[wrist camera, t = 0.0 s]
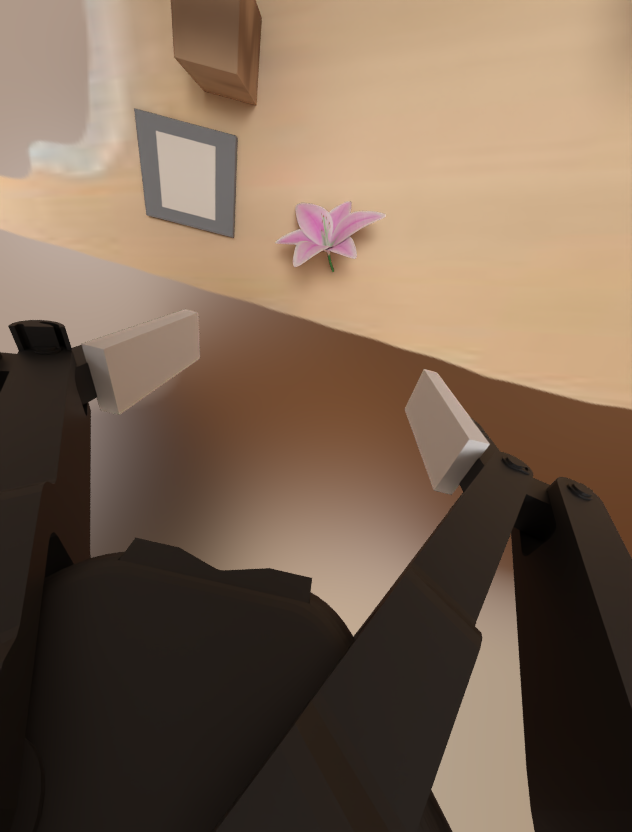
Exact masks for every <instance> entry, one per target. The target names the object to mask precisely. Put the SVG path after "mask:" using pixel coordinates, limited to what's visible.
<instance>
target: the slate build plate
mask: <svg viewBox="0 0 632 832" xmlns="http://www.w3.org/2000/svg"><path fill="white" fill-rule="evenodd" d="M134 111H135V119H136V128H137V137H138V146H139V154H140V163H141V172H142V181H143V190H144V198H145V207H146V215H148V216H152V217H156V218H160V219H163V220H167V221H171V222H175V223H179V224H183V225H187V226H190V227H194V228H198V229H202V230H206V231H210V232H214V233H217V234H221V235H225V236H229V237H233V238H234V226H235V198H236V170H237V142H238V137H237V136H235V135H231V134H228V133H224V132H220V131H217V130H213V129H209V128H205V127H202V126H198V125H194V124H190V123H187V122H183V121H179V120H176V119H172V118H168V117H164V116H161V115H157V114H153V113H150V112H146V111H142V110H138V109H135V108H134Z"/></svg>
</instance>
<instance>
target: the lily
mask: <svg viewBox="0 0 632 832" xmlns="http://www.w3.org/2000/svg"><path fill="white" fill-rule="evenodd" d="M295 209H296V217H297V222H298V224H299V227H300V228H301V229H298V230H295V231H293V232H291V233H288V234H286V235H285V236H283V237H281V238H280V239H278V240H277V241H276V242H275V243H278V244H294V245H296V247H295V251H294V256H293V265H294V267H297V266H300V265H301V264H303V263H304V262H306V261H307V260H309V259H310V258H312V257H313V256H314V255H316V254H317V253H319V252H321V251H325V252H327V254H328V259H329V263H330V266H331V269H332V272H334V269H333V266H332V262H331V258H330V251H331V252H334V253H337V254H340V255H343V256H346V257H349V258H352V259H356V257H357V252H356V247H355V244H354V241H353V239H352V238H351V237H350V236H351V235H352V234H353V233H355V232H357V231H358V230H360V229H362V228H363V227H365V226H367V225H369V224H372V223H374V222H376V221H378V220H380V219H382V218H384V217H385V216H386V215H385V214H384V213H380V212H373V211H356V212H353V213H351V201H347V202H344V203H342V204H340V205H339V206H337V207H335V208H334V209H332V210H331V211H330V212H329V213H328V211H327V210H326V209H324V208H323V207H321V206H318V205H315V204H310V203H300V204H297V205H296V208H295Z"/></svg>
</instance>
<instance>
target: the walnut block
mask: <svg viewBox="0 0 632 832" xmlns="http://www.w3.org/2000/svg"><path fill="white" fill-rule="evenodd" d="M171 9H172V28H173V47H174V58H175V59H176V60H177V61H178V62H179V63H180V64H181V65H182V67H183V68H184V69H185V70H186V71H187V72H188V73H189V74H190V76H191V77H192V78H193V79H194V80H195V81H196V82H197V84H198V85H199V86H200V87H201V88H202V89H203V90H204V91H206V92H209V93H213V94H217V95H220V96H224V97H228V98H231V99H235V100H239V101H242V102H246V103H250V104H253V105H257V88H258V72H259V55H260V39H261V22H262V17H261V14H260V12H259V9H258V6H257V4H256V1H255V0H171Z"/></svg>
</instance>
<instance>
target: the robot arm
mask: <svg viewBox="0 0 632 832" xmlns="http://www.w3.org/2000/svg"><path fill="white" fill-rule="evenodd" d="M9 329H10V331H11V333H12V335H13V338H14V340H15V343H16V345H17V347H18V350H19V352H18V354H12V353H0V832H452V830H451V828H450V826H449V824H448V822H447V820H446V818H445V816H444V814H443V812H442V810H441V808H440V806H439V804H438V802H437V800H436V798H435V797H434V794H433V792H432V790H431V788H432V786H433V783H434V780H435V777H436V774H437V771H438V768H439V765H440V763H441V760H442V757H443V754H444V751H445V748H446V745H447V742H448V739H449V737H450V734H451V731H452V728H453V725H454V722H455V719H456V717H457V714H458V711H459V708H460V705H461V702H462V699H463V696H464V693H465V690H466V688H467V685H468V682H469V679H470V676H471V673H472V670H473V668H474V665H475V662H476V659H477V656H478V653H479V650H480V646H481V642H482V634H481V632H480V631H479V630H478V629H477V628H476V627H475V624H476V621H477V618H478V616H479V613H480V610H481V608H482V605H483V603H484V600H485V598H486V595H487V593H488V590H489V588H490V585H491V583H492V580H493V577H494V575H495V572H496V570H497V567H498V565H499V562H500V560H501V557H502V554H503V552H504V549H505V547H506V544H507V542H508V539H509V537H510V534H511V539H512V553H513V569H514V582H515V584H514V585H515V600H516V614H517V630H518V646H519V660H520V676H521V690H522V706H523V722H524V737H525V753H526V766H527V767H526V768H527V778H528V787H529V796H530V806H531V813H532V819H533V824H534V830H535V832H632V559H631V557H630V555H629V553H628V551H627V549H626V547H625V545H624V543H623V541H622V539H621V537H620V535H619V533H618V531H617V529H616V527H615V525H614V523H613V521H612V519H611V518H610V516H609V513H608V512H607V509H606V508H605V506H604V504H603V502H602V501H601V499H600V498H599V497H598V496H597V495H596V494H595V493H593V491H592V490H591V489H590V488H587V487H586V486H585V485H583V484H581V483H578V482H576V481H574V480H571V479H568V478H564V477H559V478H557V479H556V480H555V481H554V482H553V483H552V484H551V485H549V484H546V483H544V482H542V481H539V480H537V479H535V478H533V472H532V470H531V469H530V468H529V467H528V466H527V465H526V464H525V463H524V462H522V461H521V460H519V459H518V458H516V457H514V456H512V455H510V454H506V453H504V452H500V451H499V449H498V448H497V447H496V445H495V444H494V443H493V442H492V440H491V439H490V438H489V436H488V435H487V434H486V433H485V431H484V430H483V428H482V427H481V426H480V425H479V424H478V423H477V422H476V421H475V420H473V419H472V418H470V417H469V415H468V414H467V413H466V411H465V410H464V408H463V407H462V406H461V404H460V403H459V402H458V400H457V399H456V398H455V396H454V395H453V394H452V392H451V391H450V390H449V388H448V387H447V386H446V384H445V383H444V381H443V380H442V379H441V377H440V376H439V375H438V373H437V372H433V371H429V370H425V369H424V370H423V372H422V374H421V377H420V378H419V381H418V383H417V385H416V387H415V389H414V391H413V393H412V395H411V397H410V399H409V401H408V404H407V406H406V408H405V411H406V414H407V416H408V419H409V422H410V425H411V428H412V431H413V434H414V436H415V439H416V442H417V445H418V448H419V450H420V453H421V456H422V459H423V461H424V464H425V467H426V470H427V473H428V475H429V478H430V481H431V484H432V486H433V489H434V490H435V491H438V492H442V493H446V494H451V495H452V493H453V492H454V491H455V490H456V488H457V487H458V486H459V484H460V486H461V488H462V490H463V493H462V495H461V496H460V497H459V499H458V500H457V501H456V502H455V504H454V505H453V506H452V507H451V509H450V510H449V512H448V513H447V514H446V516H445V517H444V519H443V520H442V521H441V522H440V524H439V525H438V526H437V528H436V529H435V530H434V531H433V533H432V534H431V536H430V537H429V538H428V539H427V541H426V542H425V544H424V545H423V546H422V547H421V549H420V550H419V551H418V553H417V554H416V555H415V557H414V558H413V559H412V561H411V562H410V563H409V564H408V566H407V567H406V569H405V570H404V571H403V572H402V574H401V575H400V576H399V578H398V579H397V580H396V582H395V583H394V585H393V586H392V587H391V588H390V590H389V591H388V592H387V594H386V595H385V596H384V598H383V599H382V600H381V601H380V603H379V604H378V605H377V607H376V608H375V609H374V611H373V612H372V614H371V615H370V616H369V617H368V619H367V620H366V621H365V623H364V624H363V625H362V626H361V628H360V629H359V630H358V632H357V633H356V634H355V635H354V637H353V635H352V634H351V632H350V631H349V629H348V628H347V626H346V625H345V623H344V622H343V620H342V619H341V618H340V617H339V615H338V614H337V613H336V612H335V611H334V610H333V609H332V608H331V607H330V606H329V605H328V604H327V603H326V602H324V601H323V600H322V599H320V598H319V597H318V596H316V595H314V594H313V593H311V592H310V591H311V583H312V578H309V577H304V576H301V575H296V574H292V573H288V572H283V571H278V570H274V569H270V568H266V569H246V570H225V571H223V570H218V569H216V568H214V567H212V566H210V565H208V564H207V563H205V562H203V561H201V560H200V559H198V558H196V557H195V556H193V555H191V554H189V553H188V552H186V551H184V550H183V549H181V548H179V547H174V546H170V545H165V544H161V543H157V542H152V541H148V540H143V539H139V538H135V540H134V541H133V542H132V543H131V545H130V546H129V547H128V549H127V550H126V551H125V552H118V553H111V554H105V555H102V556H97V557H93V558H91V555H90V461H91V460H90V459H91V457H90V456H91V455H90V452H91V450H90V449H91V438H90V437H91V410H90V406H89V403H88V402H89V401H91V400H93V399H95V398H96V397H97V400H98V404H99V407H100V410H101V411H106V412H109V413H114V414H118V415H120V414H121V413H123V412H124V411H126V410H127V409H128V408H130V407H131V406H133V405H134V404H135V403H137V402H138V401H140V400H141V399H143V398H144V397H145V396H147V395H148V394H150V393H151V392H153V391H154V390H156V389H157V388H158V387H160V386H161V385H163V384H164V383H166V382H167V381H168V380H170V379H171V378H173V377H174V376H176V375H177V374H178V373H180V372H181V371H183V370H184V369H186V368H187V367H188V366H190V365H191V364H193V363H194V362H196V361H197V360H199V359H200V343H199V313H198V312H194V311H191V310H187V309H184V310H181V311H178V312H175V313H172V314H169V315H166V316H163V317H160V318H157V319H154V320H151V321H148V322H145V323H142V324H139V325H136V326H133V327H130V328H127V329H124V330H121V331H118V332H115V333H112V334H109V335H106V336H103V337H100V338H97V339H94V340H91V341H88V342H85V343H82V345H80V346H76V347H74V348H71V345H70V342H69V339H68V335H67V333H66V329H65V326H64V325H63V324H60V323H58V322H52V321H44V320H28V321H19V322H15V323H12V324H11V325H9Z"/></svg>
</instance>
